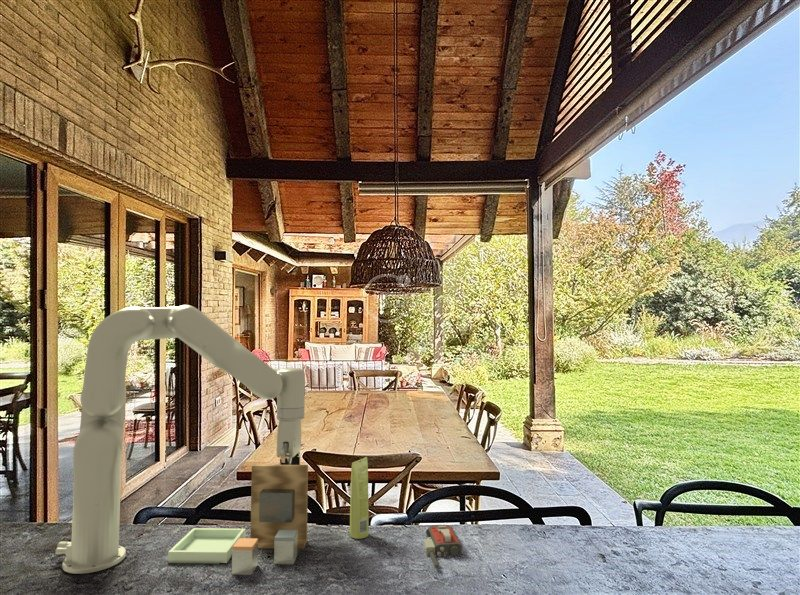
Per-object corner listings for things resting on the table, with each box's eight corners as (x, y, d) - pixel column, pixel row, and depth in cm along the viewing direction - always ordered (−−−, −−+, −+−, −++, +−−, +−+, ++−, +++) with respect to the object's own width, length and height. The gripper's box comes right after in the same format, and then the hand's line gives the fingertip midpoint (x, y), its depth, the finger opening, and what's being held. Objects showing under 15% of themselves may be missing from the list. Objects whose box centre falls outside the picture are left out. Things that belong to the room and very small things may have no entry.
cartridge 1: (231, 574, 111) (232, 546, 111) (238, 565, 115) (239, 538, 116) (251, 574, 111) (252, 546, 111) (257, 565, 115) (258, 538, 115)
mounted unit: (246, 549, 123) (248, 469, 124) (252, 540, 128) (254, 463, 129) (303, 549, 123) (304, 469, 124) (307, 541, 128) (308, 464, 129)
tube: (348, 531, 134) (348, 457, 135) (366, 530, 135) (367, 456, 136) (351, 540, 128) (351, 462, 129) (370, 538, 129) (371, 461, 131)
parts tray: (167, 562, 116) (168, 551, 116) (193, 538, 130) (193, 528, 130) (226, 563, 116) (226, 552, 116) (245, 538, 129) (245, 528, 129)
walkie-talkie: (418, 536, 132) (432, 573, 112) (418, 519, 132) (432, 553, 112) (451, 534, 133) (470, 571, 113) (451, 517, 133) (470, 551, 113)
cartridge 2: (274, 564, 116) (274, 537, 116) (278, 555, 120) (279, 529, 120) (293, 564, 116) (293, 537, 116) (297, 555, 120) (297, 529, 120)
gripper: (284, 408, 148) (284, 467, 147) (268, 419, 131) (267, 485, 130) (310, 408, 148) (309, 467, 147) (297, 419, 131) (296, 486, 130)
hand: (289, 476), depth 139 cm, fingers open, 9 cm apart
